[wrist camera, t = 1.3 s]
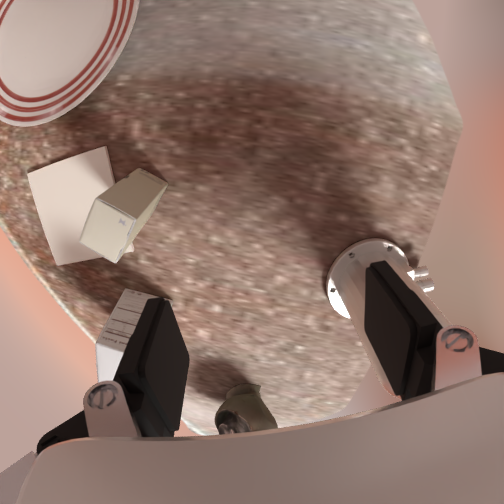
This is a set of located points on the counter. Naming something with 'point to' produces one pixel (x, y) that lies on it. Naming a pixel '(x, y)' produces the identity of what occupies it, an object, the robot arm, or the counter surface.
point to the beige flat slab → (71, 201)
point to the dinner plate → (57, 53)
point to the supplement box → (119, 332)
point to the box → (121, 213)
